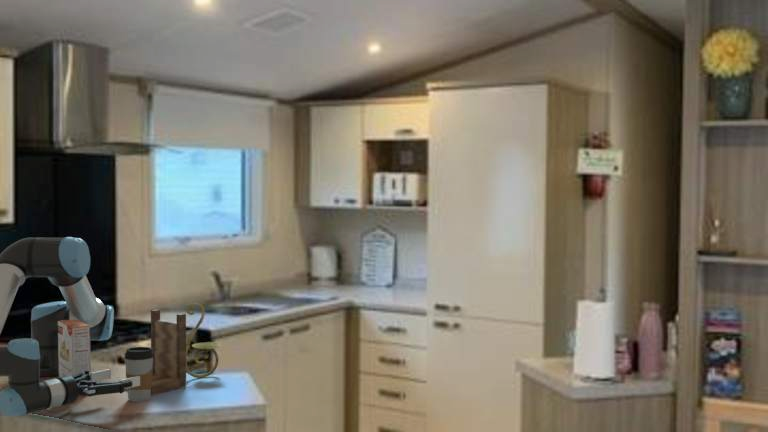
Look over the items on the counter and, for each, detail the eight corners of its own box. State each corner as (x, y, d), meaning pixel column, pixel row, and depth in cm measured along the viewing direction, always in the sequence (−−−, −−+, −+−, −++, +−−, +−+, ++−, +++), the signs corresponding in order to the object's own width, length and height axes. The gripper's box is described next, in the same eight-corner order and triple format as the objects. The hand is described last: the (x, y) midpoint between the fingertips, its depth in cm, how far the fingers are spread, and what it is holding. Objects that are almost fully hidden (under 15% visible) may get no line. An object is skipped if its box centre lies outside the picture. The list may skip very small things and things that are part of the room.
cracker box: (57, 386, 262) (56, 320, 261) (77, 383, 266) (76, 318, 265) (71, 396, 251) (70, 327, 250) (91, 393, 255) (91, 324, 254)
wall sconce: (186, 383, 267) (186, 306, 266) (174, 377, 275) (174, 302, 274) (226, 377, 276) (226, 302, 274) (213, 372, 283) (213, 298, 282)
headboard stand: (123, 387, 261) (122, 314, 260) (157, 379, 272) (156, 309, 271) (152, 395, 253) (151, 319, 252) (186, 386, 264) (185, 313, 263)
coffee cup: (128, 396, 252) (127, 346, 251) (156, 395, 253) (156, 346, 252) (121, 403, 244) (121, 352, 243) (150, 403, 244) (150, 352, 244)
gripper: (32, 398, 233) (98, 383, 251) (86, 413, 219) (152, 396, 236) (32, 371, 233) (98, 358, 250) (85, 385, 218) (152, 370, 236)
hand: (124, 377), depth 243 cm, fingers open, 13 cm apart
